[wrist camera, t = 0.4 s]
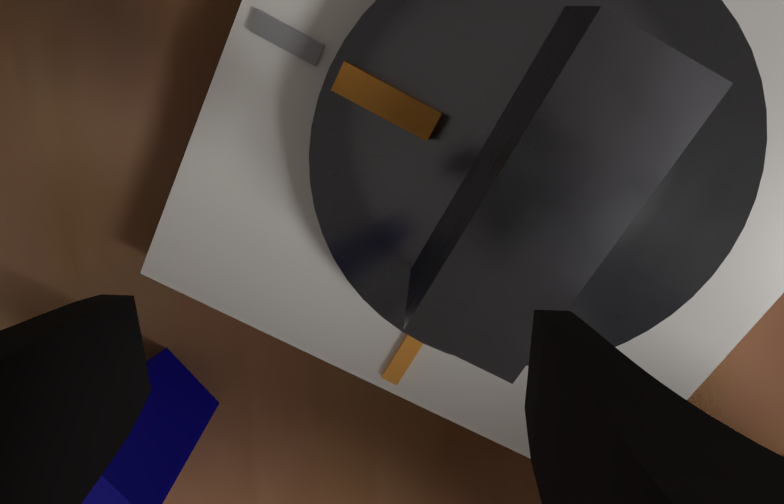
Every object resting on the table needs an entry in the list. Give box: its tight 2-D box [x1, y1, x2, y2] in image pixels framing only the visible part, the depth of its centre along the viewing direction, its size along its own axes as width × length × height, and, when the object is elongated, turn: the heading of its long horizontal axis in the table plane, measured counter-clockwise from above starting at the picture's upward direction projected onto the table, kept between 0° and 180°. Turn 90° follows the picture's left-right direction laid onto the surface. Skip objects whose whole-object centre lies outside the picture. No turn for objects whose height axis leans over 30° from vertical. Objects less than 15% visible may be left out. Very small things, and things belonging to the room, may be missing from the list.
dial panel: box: [140, 0, 784, 459], centre depth 18 cm, size 18×18×2 cm
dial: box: [309, 0, 767, 384], centre depth 15 cm, size 12×12×4 cm
